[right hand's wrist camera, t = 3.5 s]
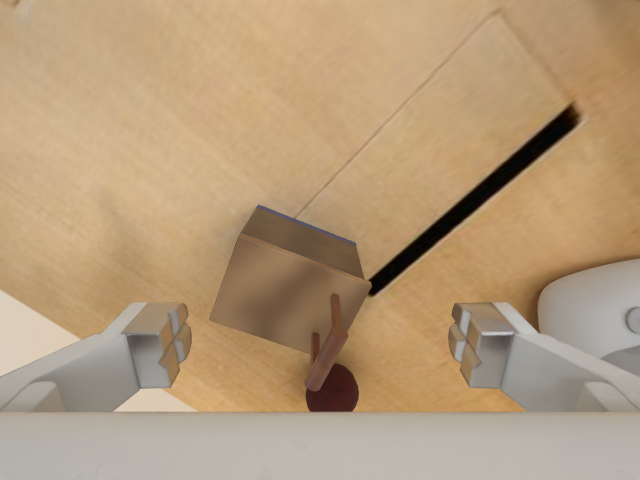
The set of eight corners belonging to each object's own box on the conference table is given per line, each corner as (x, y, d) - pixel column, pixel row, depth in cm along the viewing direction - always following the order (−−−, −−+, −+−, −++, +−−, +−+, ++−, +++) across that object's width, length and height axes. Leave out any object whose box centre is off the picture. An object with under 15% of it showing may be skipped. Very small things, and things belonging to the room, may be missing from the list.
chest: (355, 242, 43) (364, 279, 34) (324, 305, 47) (325, 353, 38) (258, 204, 41) (240, 232, 32) (233, 272, 45) (211, 314, 36)
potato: (301, 388, 52) (299, 429, 45) (314, 348, 49) (313, 385, 42) (348, 397, 52) (351, 439, 46) (363, 358, 50) (369, 397, 43)
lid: (370, 281, 34) (384, 330, 27) (331, 355, 38) (334, 417, 30) (240, 232, 32) (216, 270, 25) (211, 314, 36) (182, 369, 28)
